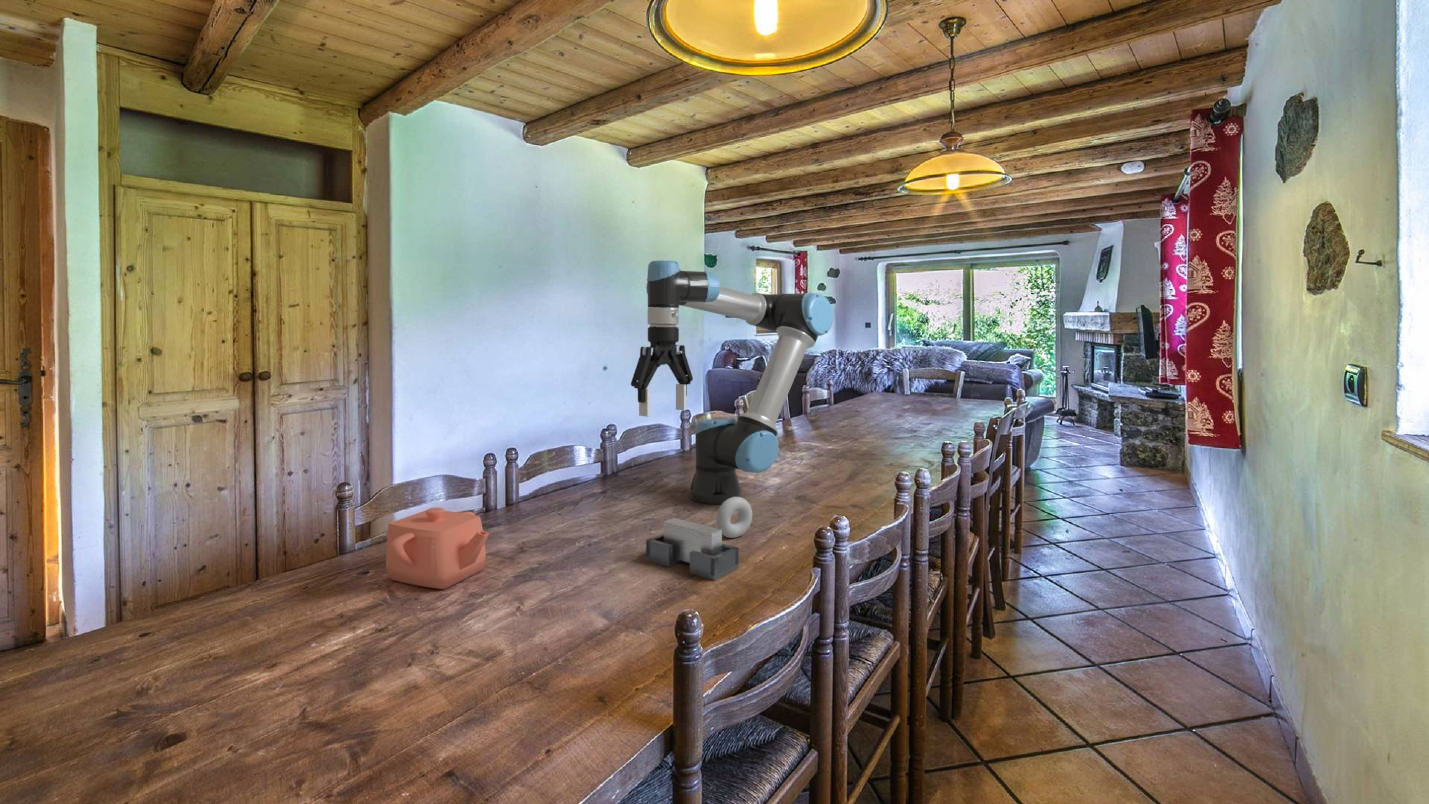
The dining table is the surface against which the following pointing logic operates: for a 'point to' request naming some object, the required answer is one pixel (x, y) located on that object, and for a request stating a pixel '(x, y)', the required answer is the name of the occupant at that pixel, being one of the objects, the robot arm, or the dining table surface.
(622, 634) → the dining table surface
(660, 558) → the end link
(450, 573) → the teapot
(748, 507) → the donut
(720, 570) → the end link
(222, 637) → the dining table surface
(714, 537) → the light grey block
